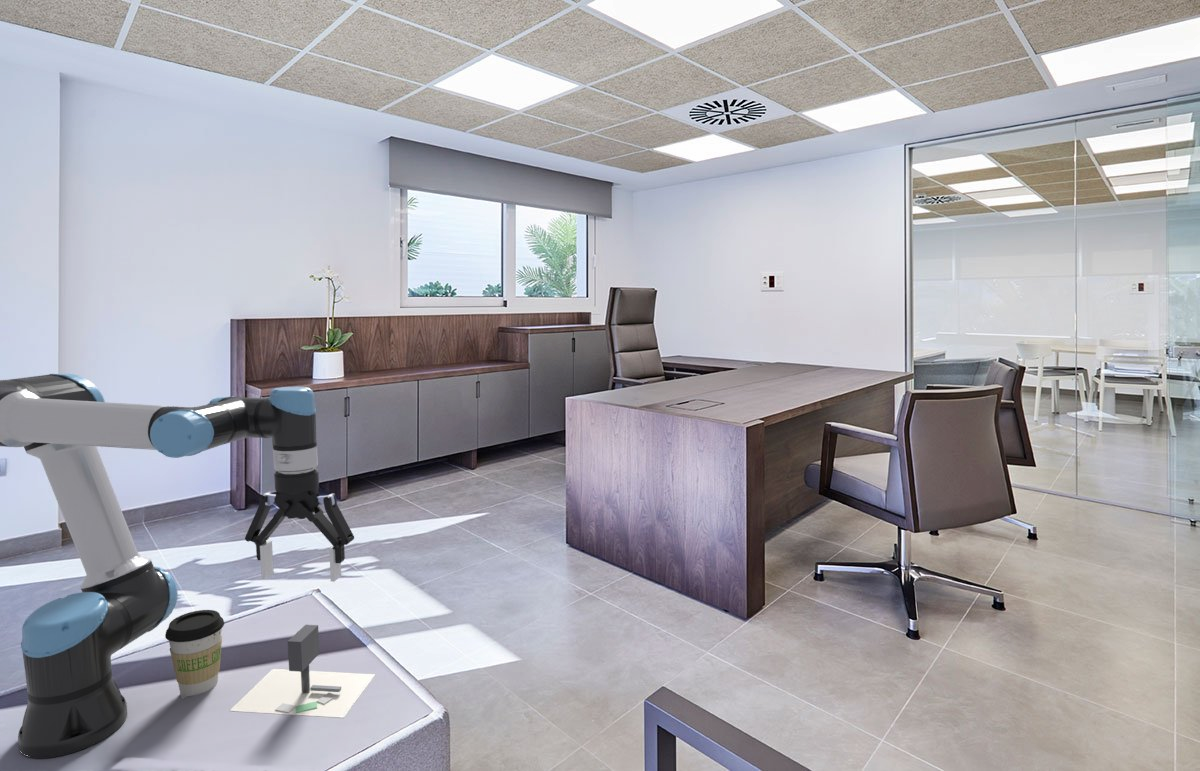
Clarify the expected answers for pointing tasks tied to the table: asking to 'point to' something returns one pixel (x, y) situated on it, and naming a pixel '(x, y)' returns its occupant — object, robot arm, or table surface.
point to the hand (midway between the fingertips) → (301, 577)
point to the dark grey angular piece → (306, 657)
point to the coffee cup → (196, 650)
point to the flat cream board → (304, 694)
